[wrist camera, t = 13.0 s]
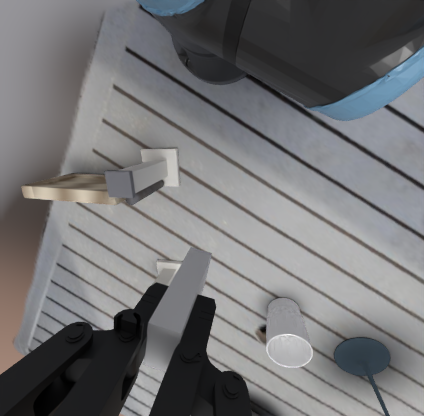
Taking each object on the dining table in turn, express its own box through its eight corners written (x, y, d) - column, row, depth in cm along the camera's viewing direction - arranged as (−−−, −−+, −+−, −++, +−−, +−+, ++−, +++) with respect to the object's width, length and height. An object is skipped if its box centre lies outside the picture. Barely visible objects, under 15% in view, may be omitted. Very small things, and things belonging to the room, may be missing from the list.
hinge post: (143, 148, 44) (90, 158, 30) (177, 148, 43) (139, 158, 29) (147, 184, 46) (100, 208, 32) (180, 185, 45) (145, 210, 31)
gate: (164, 178, 43) (134, 193, 33) (164, 188, 44) (136, 206, 34) (72, 173, 47) (21, 185, 37) (74, 182, 48) (24, 197, 37)
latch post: (158, 259, 52) (134, 290, 42) (183, 261, 51) (165, 294, 41) (160, 281, 54) (138, 316, 44) (185, 284, 52) (168, 321, 42)
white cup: (266, 292, 49) (268, 330, 40) (305, 298, 48) (316, 338, 38) (263, 320, 52) (264, 363, 42) (299, 327, 50) (308, 371, 41)
